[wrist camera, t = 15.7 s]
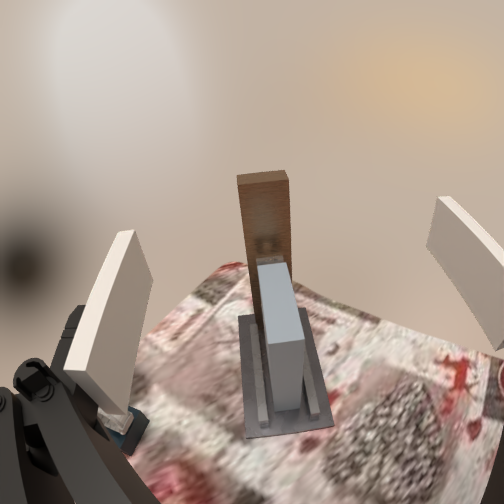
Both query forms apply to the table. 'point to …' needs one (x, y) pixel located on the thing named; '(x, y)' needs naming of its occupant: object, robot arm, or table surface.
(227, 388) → the table surface
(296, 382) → the door panel
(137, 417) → the watch
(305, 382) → the base
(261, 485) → the table surface
